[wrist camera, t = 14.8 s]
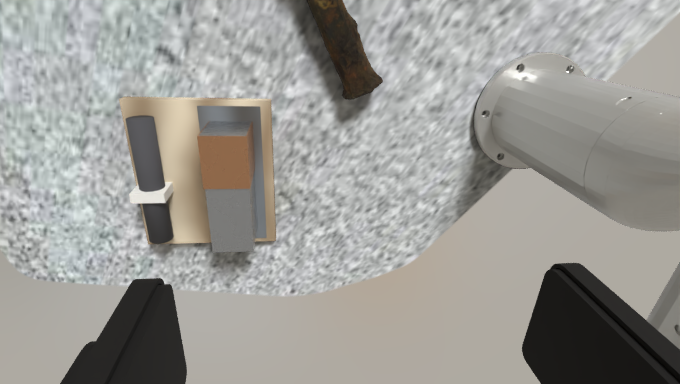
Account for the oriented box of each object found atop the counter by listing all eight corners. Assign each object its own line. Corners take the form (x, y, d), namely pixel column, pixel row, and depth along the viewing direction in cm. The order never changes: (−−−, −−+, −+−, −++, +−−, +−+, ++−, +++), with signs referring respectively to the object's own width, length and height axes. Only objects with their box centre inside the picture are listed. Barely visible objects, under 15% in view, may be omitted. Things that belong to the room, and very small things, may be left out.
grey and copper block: (252, 121, 38) (246, 136, 33) (258, 226, 43) (254, 252, 38) (208, 121, 38) (197, 136, 33) (220, 227, 43) (211, 253, 38)
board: (271, 99, 39) (270, 101, 38) (276, 235, 45) (275, 241, 44) (124, 96, 37) (118, 99, 36) (151, 238, 44) (147, 244, 43)
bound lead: (163, 114, 37) (151, 123, 34) (181, 229, 43) (172, 246, 40) (128, 113, 37) (113, 122, 34) (151, 230, 43) (140, 247, 39)
